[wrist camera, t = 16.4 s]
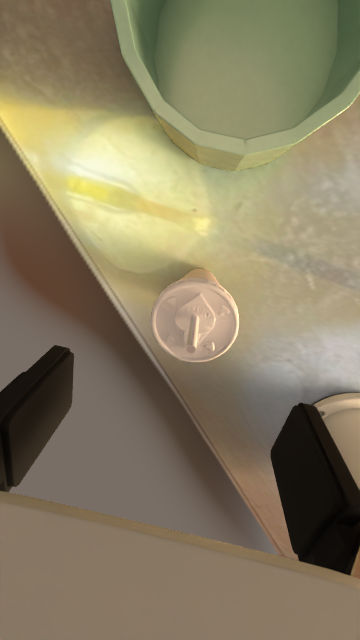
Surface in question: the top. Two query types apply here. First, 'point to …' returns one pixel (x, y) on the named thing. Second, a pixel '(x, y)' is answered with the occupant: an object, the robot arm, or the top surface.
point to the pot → (241, 71)
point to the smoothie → (195, 318)
